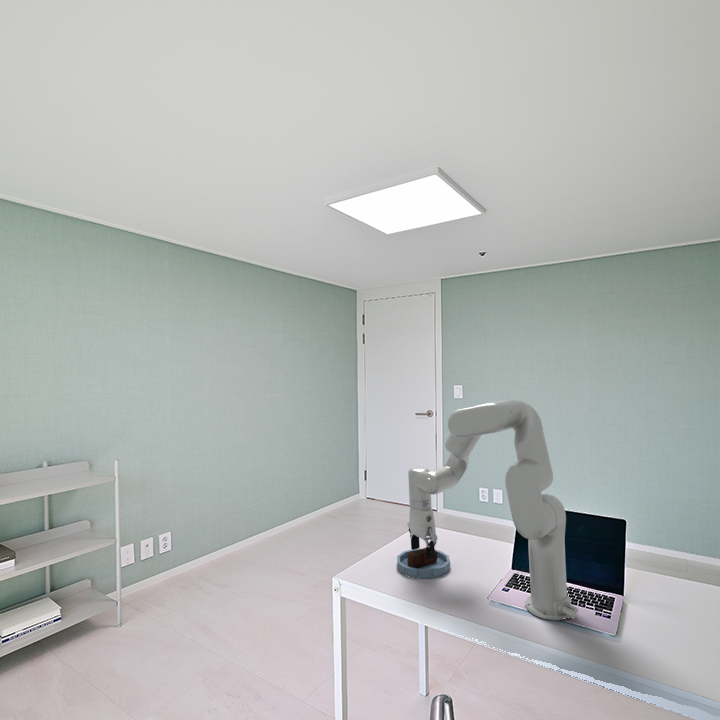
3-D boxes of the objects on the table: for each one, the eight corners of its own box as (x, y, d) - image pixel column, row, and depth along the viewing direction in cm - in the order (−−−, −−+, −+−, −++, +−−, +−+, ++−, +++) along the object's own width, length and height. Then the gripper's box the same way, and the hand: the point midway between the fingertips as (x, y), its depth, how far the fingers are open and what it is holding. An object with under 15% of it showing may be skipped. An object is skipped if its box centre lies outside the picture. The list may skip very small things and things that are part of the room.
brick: (414, 570, 155) (414, 556, 155) (407, 566, 158) (406, 552, 158) (438, 562, 161) (437, 548, 161) (430, 558, 164) (430, 545, 164)
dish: (460, 570, 155) (460, 562, 155) (415, 583, 148) (414, 574, 148) (430, 552, 172) (430, 545, 172) (388, 563, 164) (387, 555, 164)
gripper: (444, 508, 154) (446, 560, 154) (416, 496, 170) (418, 543, 169) (425, 512, 151) (427, 565, 150) (398, 499, 166) (400, 547, 166)
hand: (422, 553), depth 160 cm, fingers open, 9 cm apart
